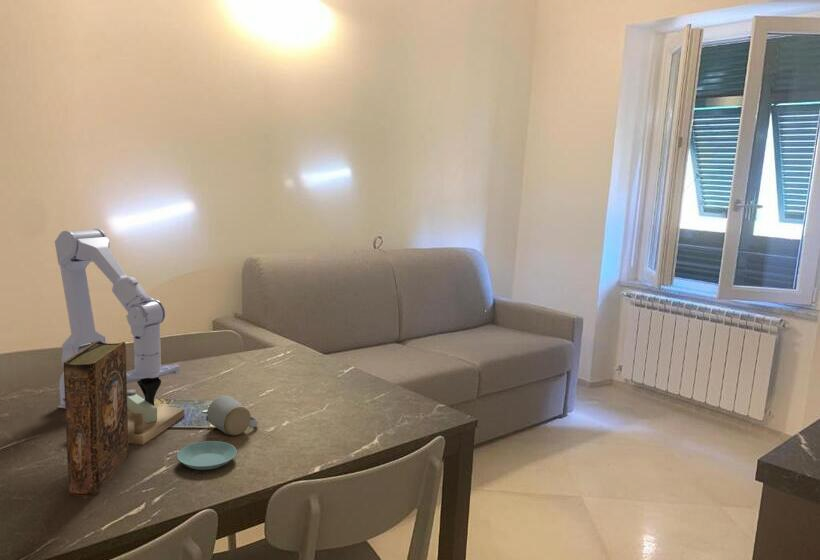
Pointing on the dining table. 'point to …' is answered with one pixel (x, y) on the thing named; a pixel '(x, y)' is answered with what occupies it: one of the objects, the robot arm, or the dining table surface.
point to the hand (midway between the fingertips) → (149, 408)
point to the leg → (141, 406)
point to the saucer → (206, 455)
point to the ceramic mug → (230, 416)
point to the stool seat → (151, 424)
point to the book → (95, 416)
